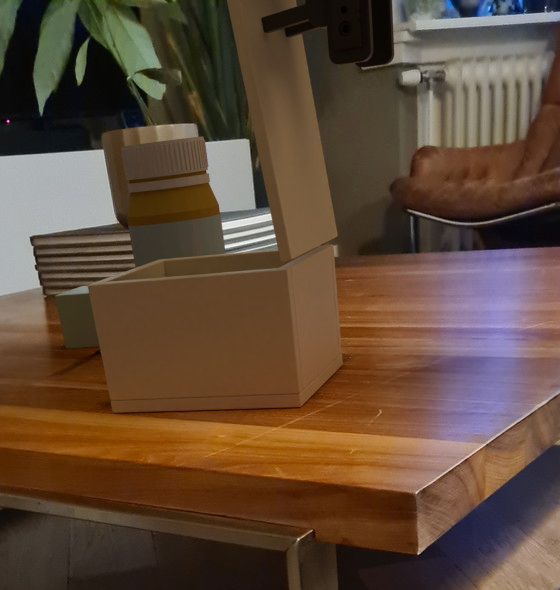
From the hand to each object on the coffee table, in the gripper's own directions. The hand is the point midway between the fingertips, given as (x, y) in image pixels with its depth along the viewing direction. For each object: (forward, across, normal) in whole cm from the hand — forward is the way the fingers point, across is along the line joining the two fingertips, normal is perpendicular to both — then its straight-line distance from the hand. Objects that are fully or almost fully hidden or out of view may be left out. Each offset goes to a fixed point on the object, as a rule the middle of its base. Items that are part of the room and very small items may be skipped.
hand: (363, 62), depth 50 cm
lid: (+3, 0, -5) cm, 6 cm away
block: (+17, -16, -28) cm, 37 cm away
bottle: (+18, -13, -18) cm, 28 cm away
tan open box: (+17, 0, -10) cm, 20 cm away
